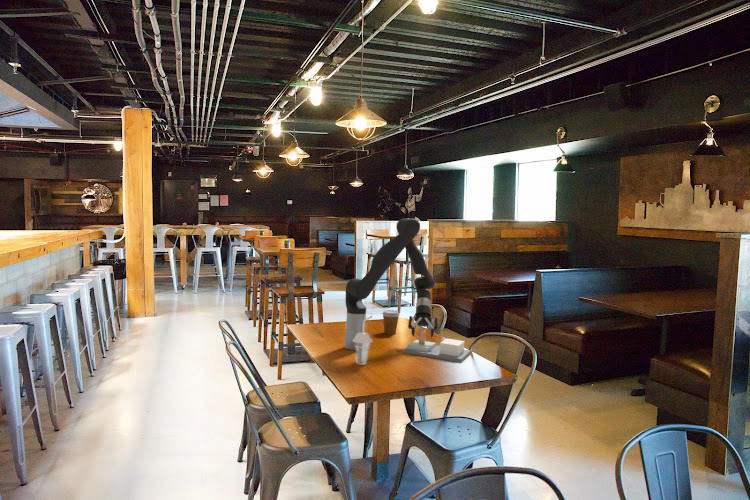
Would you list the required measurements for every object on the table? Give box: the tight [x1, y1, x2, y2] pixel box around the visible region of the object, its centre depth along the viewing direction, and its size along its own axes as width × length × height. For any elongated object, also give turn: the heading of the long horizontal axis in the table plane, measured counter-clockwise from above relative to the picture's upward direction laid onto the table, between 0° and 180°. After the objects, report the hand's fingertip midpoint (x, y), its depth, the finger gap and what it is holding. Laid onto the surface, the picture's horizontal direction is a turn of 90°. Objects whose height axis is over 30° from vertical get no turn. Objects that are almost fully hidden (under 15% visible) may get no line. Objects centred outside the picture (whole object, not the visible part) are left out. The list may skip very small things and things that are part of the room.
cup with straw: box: [353, 315, 373, 366], centre depth 215 cm, size 8×9×20 cm
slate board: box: [402, 344, 472, 363], centre depth 239 cm, size 18×28×2 cm, turn 66°
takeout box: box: [439, 338, 465, 356], centre depth 236 cm, size 11×9×5 cm
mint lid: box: [406, 328, 437, 352], centre depth 242 cm, size 12×10×9 cm
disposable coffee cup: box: [382, 309, 400, 335], centre depth 276 cm, size 10×10×12 cm
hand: (422, 336), depth 241 cm, fingers open, 8 cm apart
